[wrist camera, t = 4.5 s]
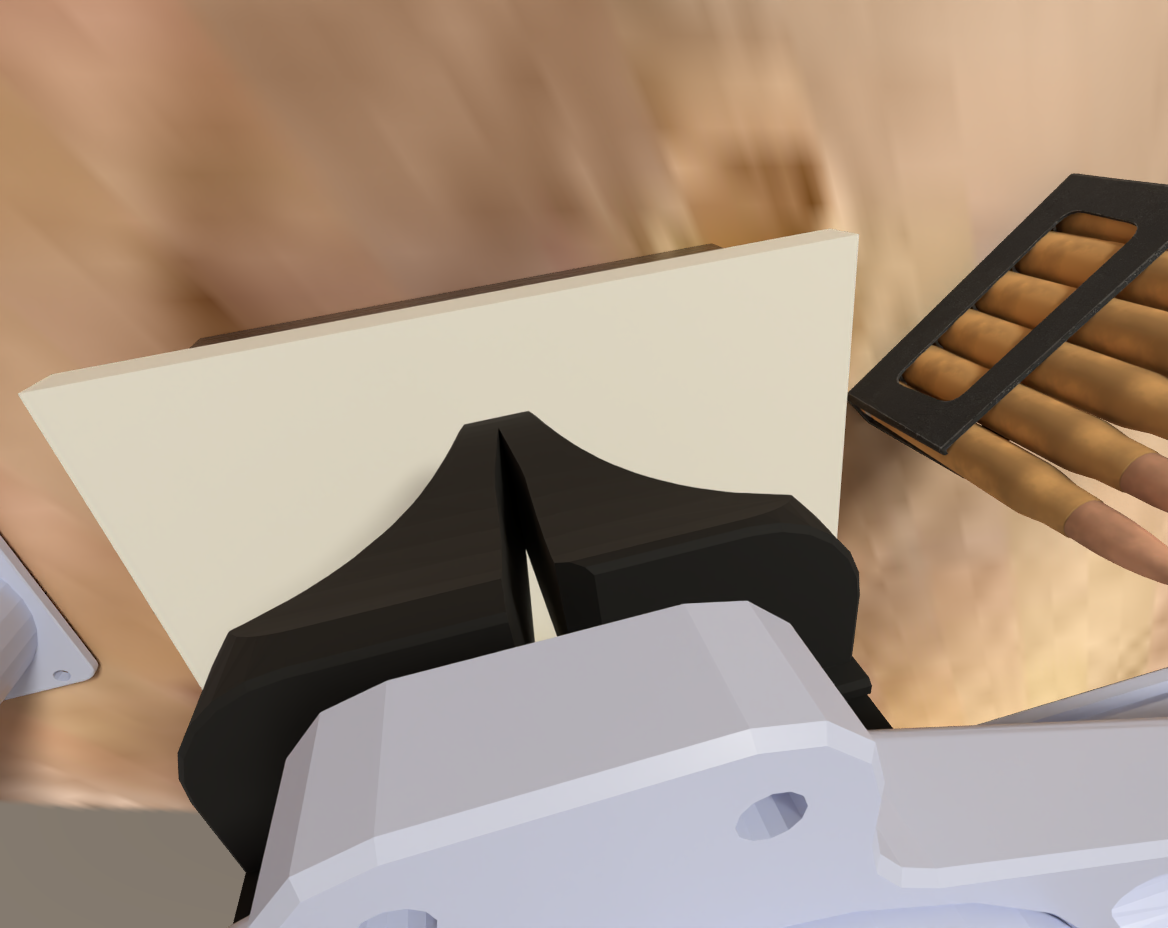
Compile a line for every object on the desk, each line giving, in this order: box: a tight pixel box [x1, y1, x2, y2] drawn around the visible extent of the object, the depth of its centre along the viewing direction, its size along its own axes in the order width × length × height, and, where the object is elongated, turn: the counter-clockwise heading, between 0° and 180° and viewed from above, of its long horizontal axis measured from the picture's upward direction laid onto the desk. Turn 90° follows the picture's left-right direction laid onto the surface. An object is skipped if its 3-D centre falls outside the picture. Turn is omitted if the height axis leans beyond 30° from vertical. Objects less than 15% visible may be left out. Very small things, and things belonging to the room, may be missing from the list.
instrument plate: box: [18, 229, 859, 690], centre depth 16 cm, size 18×16×5 cm
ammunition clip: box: [847, 174, 1168, 585], centre depth 18 cm, size 11×2×12 cm, turn 138°
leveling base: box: [189, 244, 724, 349], centre depth 20 cm, size 16×14×5 cm
